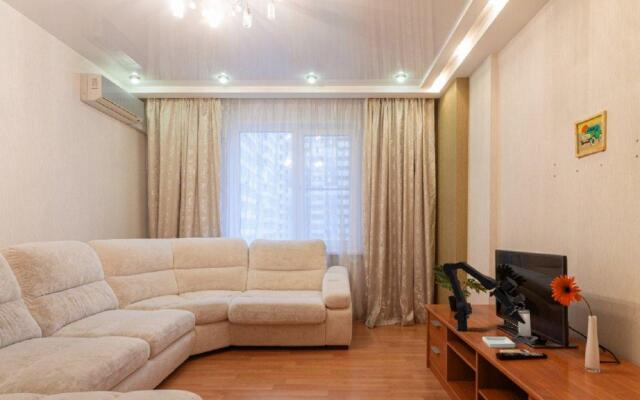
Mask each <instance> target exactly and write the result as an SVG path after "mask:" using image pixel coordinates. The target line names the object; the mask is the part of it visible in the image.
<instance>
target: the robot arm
mask: <svg viewBox="0 0 640 400" xmlns="http://www.w3.org/2000/svg"><path fill="white" fill-rule="evenodd" d="M441 267H442V271H443V273H444V275H445V276H446V277H447V278H448V279H449V283H450V286H451V289H452V292H453V295H454V297H455V300H456V311H457V312H456V313H455V314H454V315H453V319H454V320H455V321H456V325H457V326H456V327H455V329H456V331H458V332H470V331H471V330H470V329H469V328H468V326H469V325H468V319H470V316H471V315H472V314H473V307H472V305H471V304H472V303H471V302H467V300H466V299H465V295H464V293H463V289H462V287H461V284H460V281H459V279H458V270H459V269H460V270H462V271H463V272H465V273H466V274H468V275H469V276H471V277H472V278H473V279H475V280H476V281H477V282H479V284H480V286H482V287H483V288H484V289H485V290H486V291H489V297H490V298H492V297H495V298H496V299H497V301H498V302H499V304H500V306H503V308H504V307H505V308H506V309H505V310H504V309H503V311H502V316H503V318H504V317H507V316H508V315H510V316H509V317H510V318H512V319H514V320H516V321H519V322H521V323H523V324H525V323H526V322H525V321H524V320H523V318H522V317H521V316H520V315H519V312H518V310H519V309H524V310H525V306H526V305H525V304H526V303H525V302H524V301H526V296H525V295H524V294H522V293H521V292H519V293H516V296H514V297H513V296H512V295H509V294H510V293H511V292H512V291H513V290H515V289H516V288H517V287H518V284H517V282H516V281H515V280H513V279H512V278H510V277H509V276H505V277H504V278H503V280H502V281H498V280H496V279H495V278H492V277H491V276H489V275H485V274H483V273H482V272H481V271H479V270H477V269H476V268H474V267H473V266H471V265H470V264H468V263H467V262H466V261H464V260H463V261H459V262H446V263H443V264H442V266H441ZM491 290H492V291H491ZM508 293H509V294H508ZM524 303H525V304H524ZM524 305H525V306H524ZM523 306H524V307H523Z"/></svg>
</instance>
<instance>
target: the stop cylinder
mask: <svg viewBox="0 0 640 400" xmlns="http://www.w3.org/2000/svg"><path fill="white" fill-rule="evenodd" d="M530 311H531V310H529V309H525V308H524V309H519V310H518V312H519V315H520V316H521V317H522V318H523V320H524V321H525V322H526V323H525V324H523V323H521V322H519V321H518V328H517V329H518V334H519V335H520V336H526V337H528V336H532V334H531V333H532V332H531V317H530V316H531V314H530Z"/></svg>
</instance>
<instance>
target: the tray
mask: <svg viewBox="0 0 640 400" xmlns="http://www.w3.org/2000/svg"><path fill="white" fill-rule="evenodd" d="M482 342H483V343H484V344H486V346H488V347H489V348H490V349H516V342H512V339H510V338H508V337H507V336H482Z"/></svg>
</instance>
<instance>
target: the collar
mask: <svg viewBox="0 0 640 400" xmlns="http://www.w3.org/2000/svg"><path fill="white" fill-rule="evenodd" d="M519 337H526V336H520V335H519V333H518V334H515V335H514V336H513V337H512V339H511V341H512V342H513V343H518V344H523V345H526V344H525V343H531V344H532V343H533V342H534V341H535V340H537V339H538V340H539V337H537V336H535V335H534V336H532V335H531V336H528V337H527V338H532V339H531V340H526V339H520V338H519Z"/></svg>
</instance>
